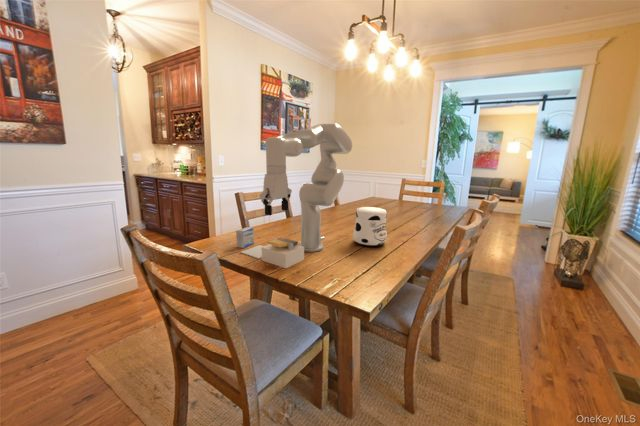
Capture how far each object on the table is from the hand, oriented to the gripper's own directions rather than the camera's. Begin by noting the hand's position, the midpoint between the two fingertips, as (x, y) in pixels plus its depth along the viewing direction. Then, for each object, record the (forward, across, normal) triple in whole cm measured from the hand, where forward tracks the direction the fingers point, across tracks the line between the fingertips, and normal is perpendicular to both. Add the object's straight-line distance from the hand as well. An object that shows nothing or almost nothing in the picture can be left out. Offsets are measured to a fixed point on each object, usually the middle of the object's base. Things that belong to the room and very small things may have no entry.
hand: (276, 212), depth 114 cm
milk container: (+23, -49, +19) cm, 58 cm away
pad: (+22, -5, -16) cm, 28 cm away
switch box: (+22, -5, -1) cm, 23 cm away
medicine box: (+23, -7, -28) cm, 37 cm away
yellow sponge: (+16, -4, -1) cm, 16 cm away
